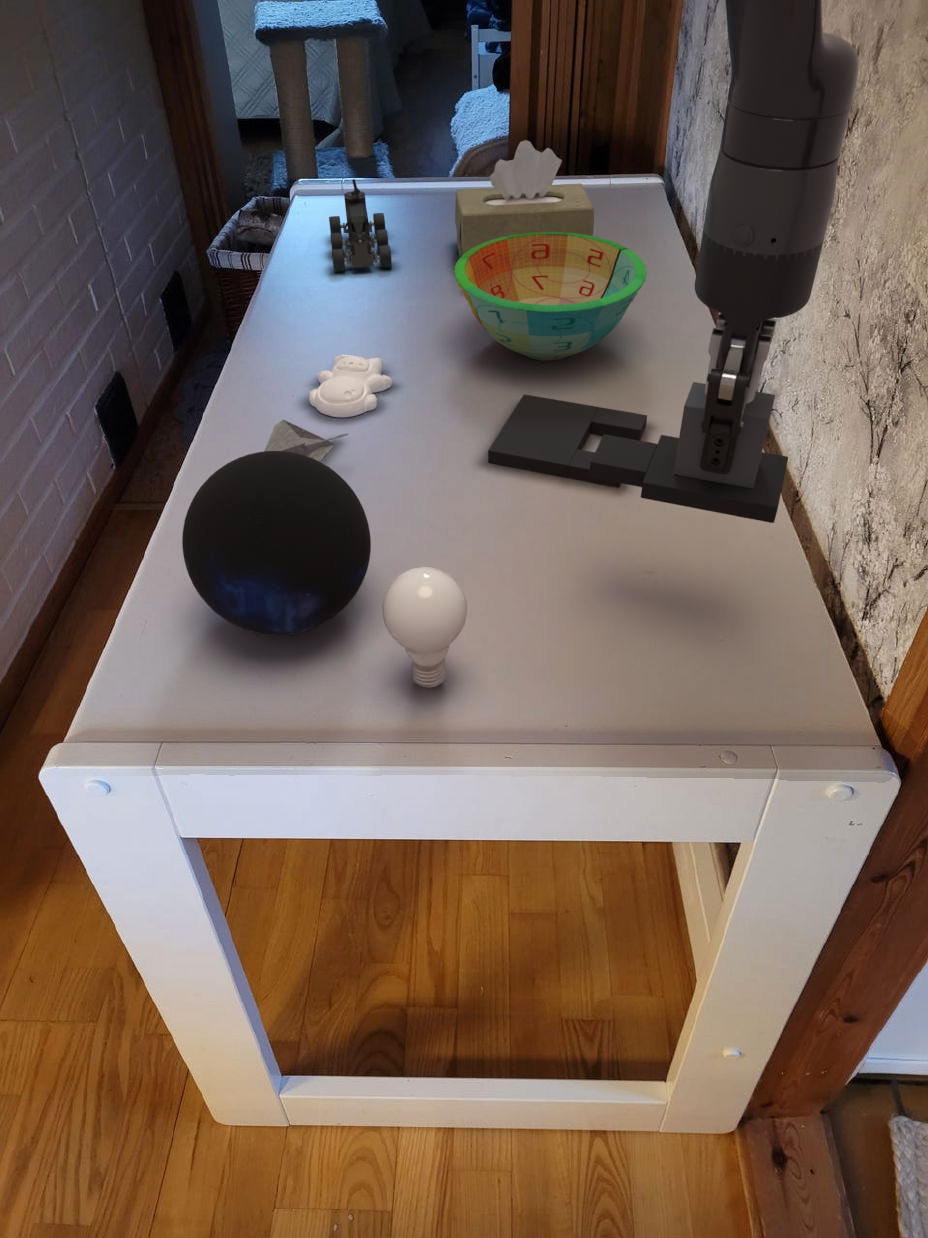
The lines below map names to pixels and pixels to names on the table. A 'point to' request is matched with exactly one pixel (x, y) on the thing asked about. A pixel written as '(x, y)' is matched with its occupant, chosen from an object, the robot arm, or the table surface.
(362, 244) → the toy vehicle
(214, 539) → the decorative sphere
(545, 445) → the notch pad
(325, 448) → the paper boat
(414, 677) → the lightbulb
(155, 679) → the table surface
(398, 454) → the table surface
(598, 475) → the pad
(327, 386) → the white bear figurine
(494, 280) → the bowl
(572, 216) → the tissue box
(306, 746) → the table surface
